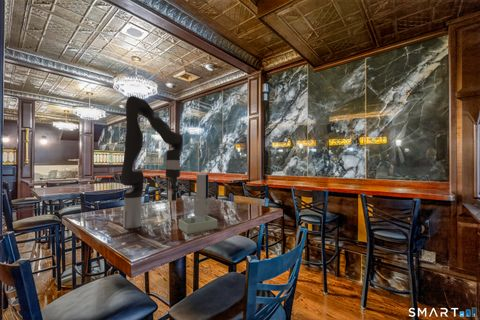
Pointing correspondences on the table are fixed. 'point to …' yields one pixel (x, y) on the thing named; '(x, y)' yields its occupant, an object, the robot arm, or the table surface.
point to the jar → (171, 196)
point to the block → (197, 219)
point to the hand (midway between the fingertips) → (172, 199)
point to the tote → (197, 225)
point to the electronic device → (202, 195)
